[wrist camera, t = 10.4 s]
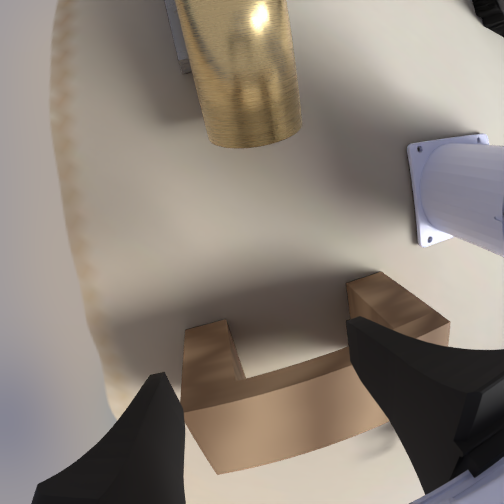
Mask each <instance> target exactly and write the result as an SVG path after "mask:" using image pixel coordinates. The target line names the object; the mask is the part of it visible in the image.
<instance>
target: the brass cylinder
mask: <svg viewBox="0 0 504 504" xmlns="http://www.w3.org/2000/svg"><path fill="white" fill-rule="evenodd" d="M175 3H176V7H177V11H178V15H179V20H180V24H181V28H182V32H183V36H184V41H185V45H186V49H187V53H188V57H189V61H190V65H191V69H192V73H193V78H194V82H195V86H196V90H197V94H198V98H199V102H200V106H201V110H202V114H203V118H204V122H205V126H206V130H207V134H208V138H209V140H210V141H211V142H212V143H213V144H215V145H217V146H221V147H226V148H251V147H258V146H264V145H269V144H272V143H276V142H279V141H282V140H284V139H287V138H289V137H291V136H292V135H294V134H295V133H297V132H298V131H299V130H300V129H301V127H302V117H301V107H300V98H299V89H298V81H297V73H296V65H295V57H294V49H293V42H292V35H291V28H290V21H289V15H288V8H287V2H286V0H175Z"/></svg>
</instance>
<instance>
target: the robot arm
mask: <svg viewBox="0 0 504 504" xmlns="http://www.w3.org/2000/svg"><path fill="white" fill-rule="evenodd" d="M418 147H419V148H420V151H419V152H418V150H417V148H418ZM407 154H408V160H409V166H410V173H411V180H412V187H413V195H414V204H415V213H416V224H417V236H418V244H419V245H420V246H422V247H427V246H430V245H433V244H436V243H438V242H441V241H444V240H447V239H449V238H452V237H457V238H459V239H462V240H464V241H467V242H469V243H472V244H474V245H477V246H479V247H481V248H484V249H486V250H488V251H491V252H493V253H495V254H498V255H500V256H502V257H504V146H496V145H489V140H488V137H487V135H486V134H475V135H466V136H458V137H451V138H443V139H436V140H430V141H423V142H416V143H411V144H409V145H408V147H407ZM428 237H430V238H429V241H428ZM346 326H347V335H348V344H349V354H350V362H351V364H352V366H353V368H354V369H355V371H356V373H357V375H358V377H359V379H360V381H361V382H362V383H363V385H364V386H365V388H366V389H367V390H368V392H369V393H370V394H371V396H372V397H373V399H374V400H375V401H376V403H377V404H378V405H379V407H380V408H381V409H382V411H383V412H384V414H385V415H386V416H387V418H388V419H389V421H390V422H391V424H392V426H393V427H394V429H395V431H396V433H397V435H398V437H399V438H400V440H401V442H402V444H403V446H404V448H405V450H406V452H407V454H408V456H409V458H410V460H411V462H412V465H413V467H414V469H415V471H416V473H417V476H418V478H419V480H420V483H421V485H422V488H423V490H424V493H425V496H423V497H421V498H419V499H417V500H415V501H413V502H411V503H409V504H504V349H502V350H471V349H461V348H453V347H447V346H442V345H437V344H433V343H429V342H425V341H422V340H419V339H416V338H413V337H410V336H407V335H404V334H401V333H399V332H396V331H394V330H392V329H389V328H387V327H384V326H382V325H380V324H378V323H375V322H373V321H371V320H369V319H366V318H364V317H361V316H358V317H356V318H353V319H350V320H347V321H346ZM184 449H185V421H184V411H183V407H182V405H181V403H180V401H179V399H178V398H177V396H176V394H175V392H174V390H173V388H172V386H171V384H170V382H169V380H168V378H167V376H166V374H165V372H162V373H158V374H153V375H150V376H149V377H148V379H147V380H146V382H145V383H144V384H143V386H142V387H141V389H140V390H139V392H138V393H137V395H136V396H135V398H134V399H133V400H132V402H131V403H130V405H129V406H128V408H127V409H126V410H125V412H124V413H123V414H122V415H121V417H120V418H119V419H118V421H117V422H116V423H115V424H114V426H113V427H112V428H111V429H110V430H109V432H108V433H107V434H106V435H105V436H104V437H103V438H102V439H101V440H100V441H99V442H98V443H97V444H96V445H95V446H94V447H93V448H91V449H90V450H89V451H88V452H87V453H86V454H84V455H83V456H82V457H81V458H80V459H78V460H77V461H76V462H74V463H73V464H72V465H70V466H69V467H67V468H66V469H64V470H63V471H61V472H59V473H58V474H56V475H54V476H52V477H51V478H49V479H47V480H45V481H43V482H41V483H39V484H38V485H37V488H36V491H35V494H34V497H33V500H32V503H31V504H186V502H185V493H184V478H183V473H184Z"/></svg>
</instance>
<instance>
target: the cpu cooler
mask: <svg viewBox="0 0 504 504" xmlns="http://www.w3.org/2000/svg"><path fill="white" fill-rule="evenodd" d="M472 1H473V2H474V6H475V7H474V8H475V10H476V11H475V12H476V14H477V16H479V17H481V18H482V19H483V24H484V26H485V27H487V28H489V29H490V30H492V31H494V32H496V33H497V34H500V35H502V36H503V37H504V0H472Z"/></svg>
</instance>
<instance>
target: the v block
mask: <svg viewBox="0 0 504 504" xmlns="http://www.w3.org/2000/svg"><path fill="white" fill-rule="evenodd" d="M164 1H165V5H166V10H167V14H168V18H169V23H170V27H171V31H172V35H173V39H174V44H175V48H176V52H177V56H178V60H179V64H180V68H181V71H182V74H185V73H189V72H192V69H191V65H190V61H189V57H188V53H187V49H186V45H185V41H184V36H183V32H182V28H181V24H180V20H179V15H178V11H177V7H176V3H175V0H164Z"/></svg>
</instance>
